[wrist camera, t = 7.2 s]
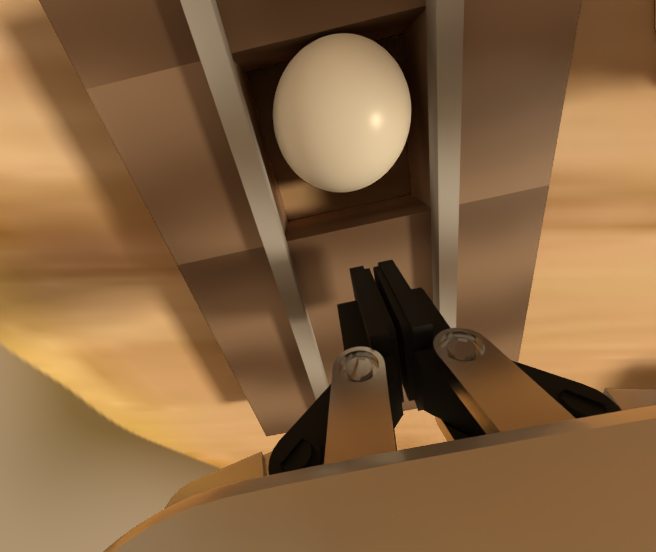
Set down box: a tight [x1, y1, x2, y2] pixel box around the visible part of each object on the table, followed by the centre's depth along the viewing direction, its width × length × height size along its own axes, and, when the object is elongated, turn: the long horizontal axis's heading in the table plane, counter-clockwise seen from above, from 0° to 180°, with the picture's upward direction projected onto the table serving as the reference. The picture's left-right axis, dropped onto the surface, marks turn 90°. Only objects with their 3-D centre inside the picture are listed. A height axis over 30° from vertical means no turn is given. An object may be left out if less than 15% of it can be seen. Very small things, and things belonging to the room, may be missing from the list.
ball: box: [273, 33, 411, 192], centre depth 10 cm, size 5×5×5 cm
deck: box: [39, 0, 582, 436], centre depth 14 cm, size 22×16×4 cm
